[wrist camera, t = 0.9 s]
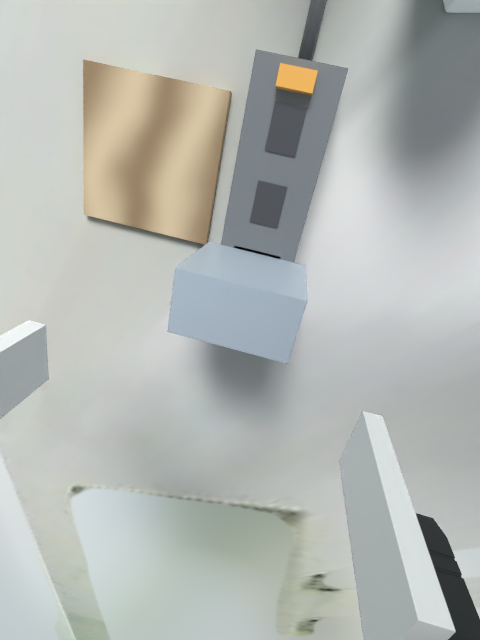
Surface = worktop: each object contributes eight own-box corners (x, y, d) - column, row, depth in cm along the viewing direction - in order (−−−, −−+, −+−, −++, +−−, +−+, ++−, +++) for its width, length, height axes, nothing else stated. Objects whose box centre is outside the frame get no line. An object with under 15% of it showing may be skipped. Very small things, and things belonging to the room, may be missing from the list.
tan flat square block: (231, 92, 26) (230, 91, 25) (207, 243, 31) (205, 244, 31) (87, 61, 27) (83, 59, 26) (87, 213, 32) (83, 214, 31)
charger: (214, 237, 29) (175, 267, 20) (305, 259, 28) (307, 301, 19) (206, 284, 31) (167, 331, 22) (291, 306, 30) (287, 363, 21)
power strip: (290, -83, 21) (288, -147, 17) (383, -67, 21) (404, -128, 17) (217, 306, 34) (204, 326, 29) (274, 321, 33) (270, 343, 29)
